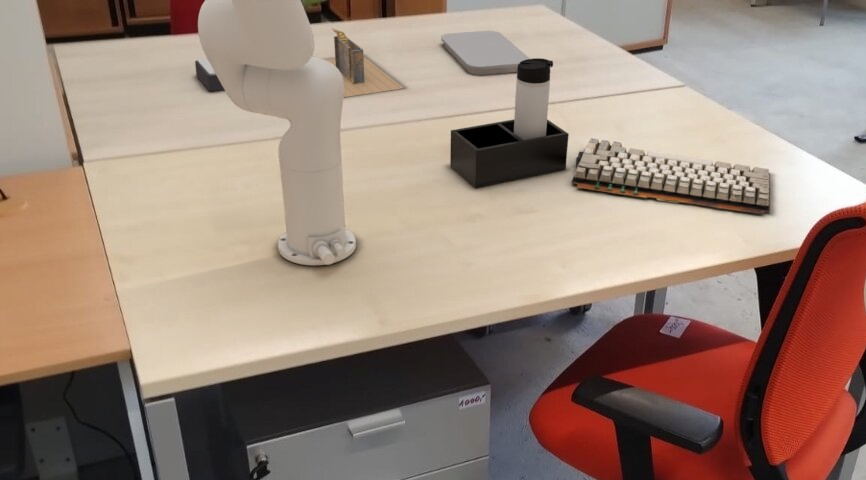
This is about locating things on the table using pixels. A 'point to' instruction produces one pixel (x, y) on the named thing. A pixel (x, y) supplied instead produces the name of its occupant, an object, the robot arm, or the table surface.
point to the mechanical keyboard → (672, 178)
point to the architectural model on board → (358, 69)
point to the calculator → (207, 75)
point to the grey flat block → (484, 52)
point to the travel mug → (532, 98)
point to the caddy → (505, 153)
